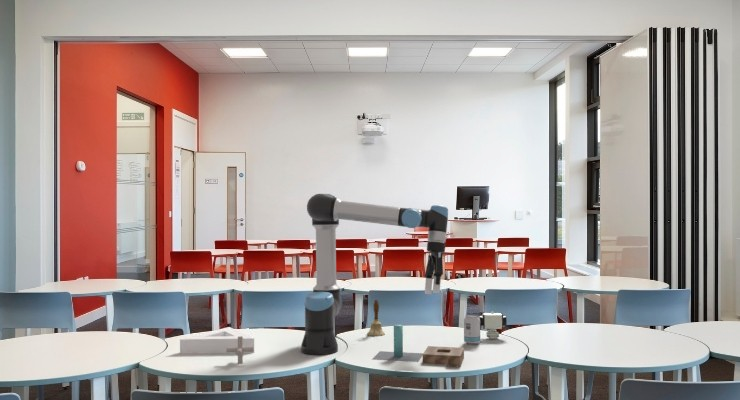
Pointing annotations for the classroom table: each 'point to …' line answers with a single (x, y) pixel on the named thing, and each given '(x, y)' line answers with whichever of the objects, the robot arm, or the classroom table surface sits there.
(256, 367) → the classroom table surface
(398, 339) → the peg
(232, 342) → the triangle block
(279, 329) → the classroom table surface
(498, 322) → the pneumatic valve
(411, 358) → the mat
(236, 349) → the pipe connector
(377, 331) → the hand bell
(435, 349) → the hole block
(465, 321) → the beverage can
